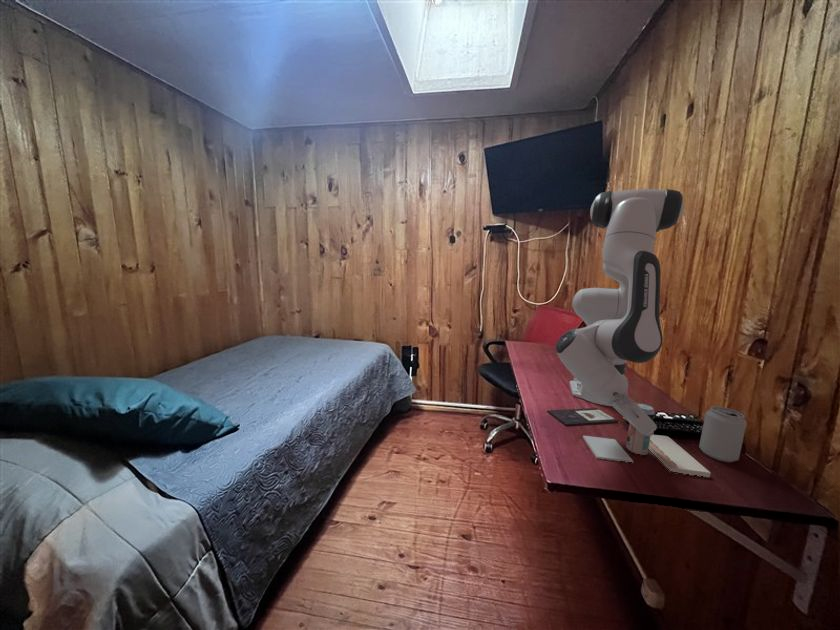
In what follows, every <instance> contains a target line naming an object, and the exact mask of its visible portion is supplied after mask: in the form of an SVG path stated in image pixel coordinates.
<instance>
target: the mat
mask: <svg viewBox="0 0 840 630" xmlns="http://www.w3.org/2000/svg"><path fill="white" fill-rule="evenodd" d="M582 439H583V440H584V441H585V442H586V444H587V446H588V447H589V448H590V450H591V452H592V454H593V455H594V456H595V458H596V459H599V460H605V459H606V461H613V460H614V461H613V462H620V461H625V462H624V463H628V462H632V463H631V464H634V460H633V459H632V457H630V456H629V454H628V453H627V451H626V450H624V448H623V447H622V445H621V444H620V443H619V442H618V441H617V440H616V439H615V438H606V437H601V436H599V437H597V436H590V435H583V436H582Z"/></svg>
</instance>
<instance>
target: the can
mask: <svg viewBox="0 0 840 630" xmlns="http://www.w3.org/2000/svg"><path fill="white" fill-rule="evenodd" d="M709 408H710V409H708V410H707V411H706V412H705V415H704V421H703V424H702V431H701V434H700V440H699V444H698V447H699V449H700V450H701V451H702V452H703V454H704V455H706V456H707V457H708V458H709V457H710V458H712V459H714V460H717V461H720V462H723V463H733V462H736V461H739V459H740V456H741V455H740V454H741V451H742V445H743V440H744V438H745V437H744V436H745V433H746V427H747V421H746V419H744V418H745V415H744V414H743V413H742V412H740V411H738V410H735V409H733V408H728V407H723V406H717V405H714V406H713V405H712V406H710V407H709Z"/></svg>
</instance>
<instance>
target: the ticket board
mask: <svg viewBox="0 0 840 630" xmlns="http://www.w3.org/2000/svg"><path fill="white" fill-rule="evenodd" d="M648 449H649V450H650V451H651V452H652V453H653V454H654V455H655V456H656V457H657V458H658V459H659V460H660V461H661V462H662V463H663V464H664V465H665V466H666V467H667V468H668V469H669V470H670V471H673V472H678V473H683V474H682V475H686V474H689V475H688V476H694V475H697V476H696V477H701V476H703V477H702V478H710V477H711V471H709V470H708V469H707V468H706V467H704V466H703V465H702V464H701V463H700V462H699V461H698V460H696V459H695V458H694V457H693V456H692V455H690V453H688V452H687V451H686V450H685V449H683V448H682V447H681V446H680V445H679V444H677V442H675V441H674V440H673V439H672V438H670V437H669V436H667V435H660V434H659V435H658V434H653V435H651V437H650V442H649V448H648ZM649 450H648V451H649ZM650 451H649V452H650ZM651 452H650V453H651ZM652 453H651V454H652ZM653 454H652V455H653ZM654 455H653V456H654ZM655 456H654V457H655ZM656 457H655V458H656ZM657 458H656V459H657ZM658 459H657V460H658ZM659 460H658V461H659ZM660 461H659V462H660ZM661 462H660V463H661ZM662 463H661V464H662ZM663 464H662V465H663ZM664 465H663V466H664ZM665 466H664V467H665ZM666 467H665V468H666ZM667 468H666V469H667ZM668 469H667V470H668ZM669 470H668V471H669ZM670 471H669V472H670ZM678 473H677V474H678Z"/></svg>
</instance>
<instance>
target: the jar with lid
mask: <svg viewBox="0 0 840 630" xmlns="http://www.w3.org/2000/svg"><path fill="white" fill-rule="evenodd" d="M635 403H636V402H635ZM636 404H637V405H638V406H639V407H640V408H641V409H642V410H643V411H644V412H645V413H646V414H647V415H648V416H649V417H650V419H651V420H652V421H653V422H654V420H655V419H654V418H655V414H656V413H655V409H654V407H653V406H651V405H648V404H646V403H641V402H637V403H636ZM628 425H629V426H628V431H627V437H626V443H625V448H626V449H627V450H628V451H629V452H630V451H631V453H632V452H633V454H634V453H635V455H637V454H640V455H639V456H646V455H648V454H649V450H648V448H649V442H650V437H651V436H650V437H647V436H644V435H642V434H641V433H640V432H639V431H638V430H637V429H636V428H635V427H634V426H633V425H632V424H630V423H629V424H628Z"/></svg>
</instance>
